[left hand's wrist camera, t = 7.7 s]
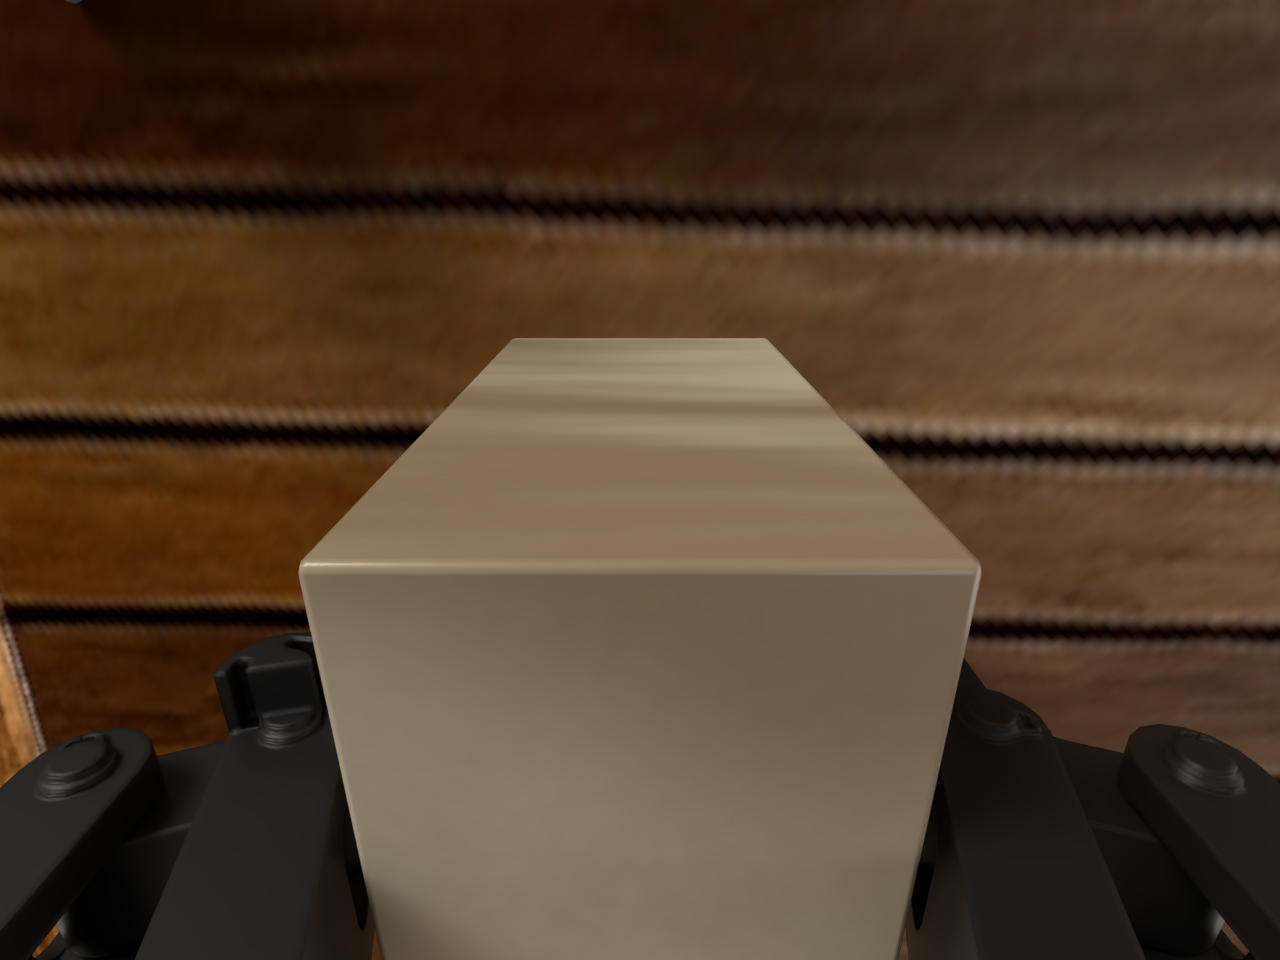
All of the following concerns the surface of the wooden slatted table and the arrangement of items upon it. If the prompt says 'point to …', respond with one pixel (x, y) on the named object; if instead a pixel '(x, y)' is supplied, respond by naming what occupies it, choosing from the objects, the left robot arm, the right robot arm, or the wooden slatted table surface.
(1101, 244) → the wooden slatted table surface
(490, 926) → the ash bar
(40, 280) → the wooden slatted table surface
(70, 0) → the slate blue block
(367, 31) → the wooden slatted table surface
